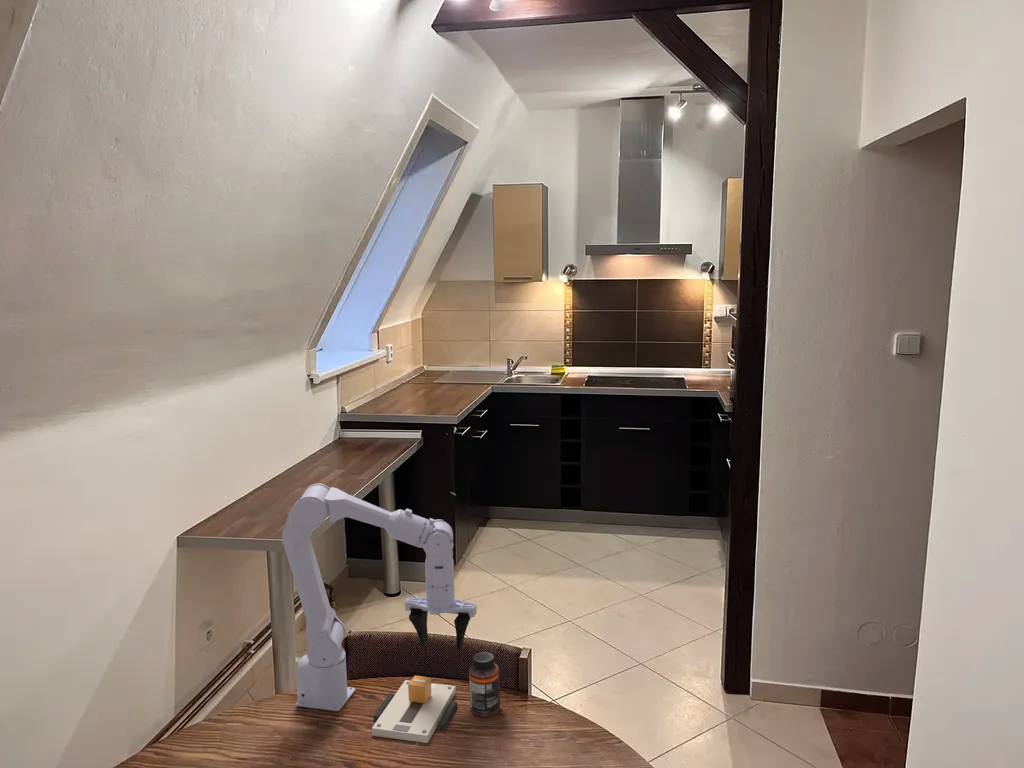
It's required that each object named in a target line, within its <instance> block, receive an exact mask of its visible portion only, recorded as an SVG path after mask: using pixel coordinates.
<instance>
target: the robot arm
mask: <svg viewBox="0 0 1024 768" xmlns="http://www.w3.org/2000/svg"><path fill="white" fill-rule="evenodd" d="M327 517H328V519H329V520H328V521H329V523H332V522H336V521H339V520H341V519H344V518H350V519H352V520H355V521H359V522H362V523H366V524H370V525H373V526H374V527H379V528H382V529H385V531H386V532H387V535H388V537H389V538H391V539H395V540H396V541H397V540H398V541H400V542H403V543H405V544H408V545H411V546H414V547H416V548H420V549H421V548H422V549H423V551H424V552H425V560H424V561H425V562H424V567H425V568H424V570H425V571H424V575H425V597H408V598H407V599H406V600H405V602H404V604H405V607H404V608H405V611H406V612H410V614H409V615H408V619H409V621H410V622H411V625H413V628H414V629H415V631H416V634H417V636H418V639H419V642H420V646H422V647H424V646H426V644H427V643H428V638H429V637H428V636H429V635H428V614H430V615H435V616H439V615H441V614H453V615H455V614H456V615H457V616H456V617H455V618H454V621H453V624H454V627H455V635H456V641H455V642H456V643H455V644H456V650H459V651H460V650H462V648H463V646H464V640H465V636H466V631H467V628H468V625H469V624H470V623H469V622H470V621H471V619H472V618H474V617H476V615H477V609H478V608H477V603H471V602H467V601H464V600H460V599H457V598H455V561H454V558H453V557H454V556H453V555H454V552H453V549H454V545H455V544H454V532H453V528H452V526H451V525H450V524H449V523H448V522H446V521H444V519H439V518H438V519H434V518H431V517H429V519H427V518H425V517H422V516H420V515H417V514H414V513H413V510H412V509H410V508H406V509H405V510H404V509H397V510H395V511H388V510H386V509H385V508H381V507H380V506H377V505H375V504H372V503H370V502H368V501H366V500H363V499H360V498H358V497H356V496H353V495H351V494H349V493H347V492H345V491H343V490H341V489H339V488H338V487H332V486H331V487H329V486H328V485H326V484H323V483H313V484H310V485H309V486H307V487H306V489H305V490H304V491H303V492H302V493H301V495H299V496H298V498H297V500H296V502H295V503H294V505H293V507H291V509H290V510H289V511H288V516H287V519H286V522H285V524H284V528H283V531H282V535H281V541H282V544H283V547H284V551H285V555H286V558H287V561H288V564H289V567H290V571H291V573H292V574H291V575H292V577H293V580H294V584H295V588H296V590H297V594H298V598H299V600H300V603H301V606H302V611H303V614H304V617H305V622H306V623H305V628H306V629H305V636H306V637H305V638H306V640H307V647H306V654H304V655H303V656H302V657H301V658H300V660H299V661H298V664H297V667H296V677H295V678H296V688H297V689H296V690H297V692H296V693H297V701H296V703H295V705H296V707H303V708H308V709H309V708H310V709H319V710H325V711H333V712H340V711H341V710H342V708H343V707H344V706H345V705H346V703H347V702H348V700H349V699H350V698H351V697H352V696H353V694H354V693H355V692H356V688H355V687H353V686H352V687H351V686H348V677H347V658H346V657H347V656H346V651H345V648H343V646H342V643H343V640H344V639H345V636H346V627H345V625H344V624H345V623H343V622H342V620H341V619H339V618H338V616H337V614H336V613H337V612H336V610H335V609H334V608H332V607H331V605H330V601H329V598H328V594H327V591H326V587H325V584H324V581H323V577H322V573H321V570H320V567H319V563H318V560H317V556H316V554H315V551H314V546H313V543H312V539H311V535H312V533H313V531H314V530H316V529H318V528H319V527H320V526H322V525H323V524H324V523H325V522H326V519H327Z"/></svg>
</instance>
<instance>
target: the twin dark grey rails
mask: <svg viewBox="0 0 1024 768" xmlns="http://www.w3.org/2000/svg"><path fill="white" fill-rule="evenodd" d="M394 696H395V693H392V692H389V693H388V695H386V697H385V699H384V700H383V701H382V702H381V704H380V706H379V707H378V708H377V710H376V711H375V713H374V714H373V718H372V719H373V721H375V722H376V721H377V720H378V719H379V717H380V716H381V714H382V713H383V711H384V710H385V708H386V707H387V706H388V704H389V703H390V701H391V700H392V698H393V697H394ZM457 707H458V701H456V700H452V701H451V702H450V704H449V706H448V708H447V710H446V711H445V713H444V715H443V717H442V718H441V720H440V722H439V724H438V729H439V730H444V731H445V729H446V728H447V725H448V723H449V721H450V720H451V719H452V716H453V715H454V712H455V711H456V709H457Z"/></svg>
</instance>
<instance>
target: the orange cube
mask: <svg viewBox="0 0 1024 768" xmlns="http://www.w3.org/2000/svg"><path fill="white" fill-rule="evenodd" d="M409 681H410V683H409V684H408V694H409V701H411V702H419V703H426V702H427V700H428V699H429V697H430V695H431V683H432V678H431V677H428V676H421V675H414V676H413V677H412V678H411V679H410V680H409Z"/></svg>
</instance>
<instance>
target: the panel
mask: <svg viewBox="0 0 1024 768" xmlns="http://www.w3.org/2000/svg"><path fill="white" fill-rule="evenodd" d="M410 681H411V680H408V679H407V680H406V679H405V680H404V681H403V683H402V684H401V686H400V687H399V688H398V690H397V691H396V693H394V697H393V698H392V700H391V701H390V703H389V704H388V706H387V707H386V708H385V710H384V711H383V713H382V714H381V716H380V717H379V719H378V720H377V721H375V723H374V724H373V726H372V727H371V736H375V737H382V738H387V739H388V738H390V739H393V740H395V739H396V740H404V741H411V742H417V743H423V744H428V743H429V742H430V740H431V738H432V736H433V734H434V733H435V732H436V729H437V727H439V724H440V722H441V720H442V718H443V716H444V715H445V713H446V711H447V709H448V707H449V706H450V704H451V702H452V701H453V699H454V698H455V695H456V693H457V690H456V689H457V687H456V685H452V684H451V685H449V684H441V683H433V682H431V695H430V697H429V699H428V700H427V702H426V703H419V702H411V701H409V694H408V684H409V683H410Z"/></svg>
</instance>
